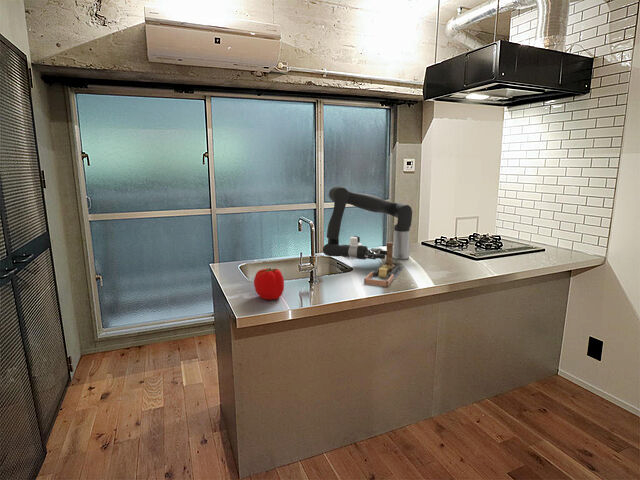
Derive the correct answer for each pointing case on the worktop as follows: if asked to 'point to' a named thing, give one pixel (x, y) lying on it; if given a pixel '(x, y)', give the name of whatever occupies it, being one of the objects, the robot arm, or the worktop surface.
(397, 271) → the slot bed
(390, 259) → the rake
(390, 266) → the chip
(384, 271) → the chip
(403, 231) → the robot arm
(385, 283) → the tray
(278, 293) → the red bell pepper
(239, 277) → the worktop surface
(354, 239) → the medicine bottle
